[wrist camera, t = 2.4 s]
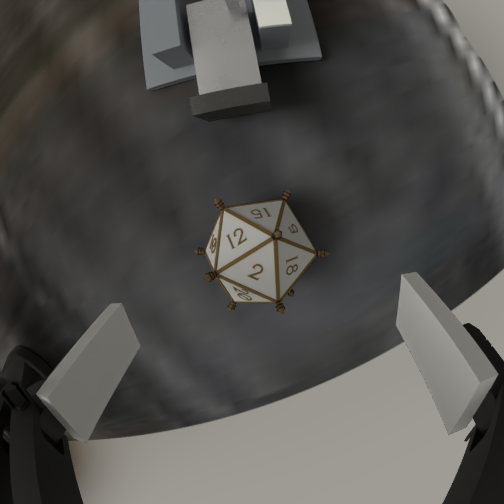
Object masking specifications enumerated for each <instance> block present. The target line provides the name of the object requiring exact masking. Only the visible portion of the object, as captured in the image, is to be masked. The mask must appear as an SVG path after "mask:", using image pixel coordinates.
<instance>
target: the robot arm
mask: <svg viewBox="0 0 504 504" xmlns="http://www.w3.org/2000/svg"><path fill="white" fill-rule="evenodd" d="M396 326H397V328H398V330H399V332H400V333H401V335H402V337H403V339H404V341H405V343H406V344H407V347H408V348H409V350H410V352H411V354H412V356H413V358H414V360H415V362H416V364H417V366H418V368H419V370H420V372H421V374H422V376H423V378H424V380H425V382H426V384H427V387H428V389H429V391H430V393H431V395H432V397H433V399H434V402H435V404H436V406H437V409H438V411H439V413H440V415H441V418H442V420H443V423H444V425H445V427H446V430H447V432H448V435H450V434H452V433H454V432H457V431H459V430H462V429H464V428H466V427H467V425H468V424H469V422H470V421H471V419H472V418H473V419H474V421H475V423H476V425H475V426H474V427H473V429H472V430H471V432H470V433H469V434H468V436H467V437H466V439H465V441H468V439H469V438H470V440H469V443H468V446H467V449H466V451H465V454H464V457H463V459H462V462H461V465H460V467H459V470H458V472H457V474H456V476H455V479H454V481H453V483H452V485H451V487H450V490H449V492H448V494H447V496H446V498H445V500H444V502H443V503H442V504H504V361H503V359H502V358H501V357H500V356H499V354H498V353H497V351H496V350H495V349H494V348H493V347H491V344H490V342H489V341H488V340H486V337H485V336H484V335H483V334H482V332H480V330H479V329H478V328H476V327H475V326H473V325H471V324H470V323H467V324H464V325H462V324H461V323H460V322H459V320H458V319H457V318H456V317H455V315H454V314H453V313H452V312H451V311H450V309H449V308H448V307H447V306H446V305H445V303H444V302H443V301H442V300H441V299H440V298H439V297H438V295H437V294H436V293H435V292H434V291H433V290H432V289H431V288H430V286H429V285H428V284H427V283H426V282H425V281H424V280H423V279H422V278H421V277H420V276H419V274H418V273H417V272H412V273H406V274H401V286H400V296H399V304H398V312H397V320H396ZM139 348H140V344H139V342H138V340H137V337H136V335H135V333H134V331H133V328H132V326H131V324H130V321H129V319H128V317H127V314H126V312H125V310H124V307H123V305H122V303H112V304H110V305H109V306H108V307H107V308H106V309H105V310H104V311H103V312H102V313H101V315H100V316H99V317H98V318H97V319H96V320H95V321H94V323H93V324H92V325H91V326H90V327H89V328H88V330H87V331H86V332H85V333H84V334H83V335H82V337H81V338H80V339H79V340H78V341H77V342H76V344H75V345H74V346H73V347H72V348H71V350H70V351H69V352H68V353H67V355H66V356H65V357H64V358H63V359H62V360H60V361H59V363H58V364H57V365H56V366H55V368H54V370H52V369H51V368H50V367H49V366H48V365H47V364H46V363H45V362H44V361H43V360H42V359H41V358H39V357H38V356H37V355H35V354H34V353H33V352H31V351H30V350H28V349H26V348H24V347H21V346H17V347H15V348H14V349H13V350H12V351H11V352H10V353H9V355H8V357H7V359H6V362H5V364H4V367H3V370H2V373H1V375H0V504H83V501H82V498H81V494H80V491H79V488H78V484H77V481H76V476H75V472H74V468H73V464H72V460H71V455H70V450H69V444H68V440H67V437H66V436H65V435H64V432H65V431H66V430H67V431H68V432H69V433H70V434H71V436H72V437H73V438H75V439H78V440H80V441H83V442H87V441H88V439H89V437H90V435H91V433H92V431H93V429H94V428H95V426H96V424H97V422H98V420H99V418H100V416H101V414H102V413H103V411H104V409H105V407H106V405H107V404H108V402H109V400H110V398H111V396H112V395H113V393H114V391H115V389H116V388H117V386H118V384H119V382H120V380H121V379H122V377H123V375H124V374H125V372H126V370H127V368H128V367H129V365H130V363H131V362H132V360H133V358H134V356H135V355H136V353H137V351H138V350H139Z"/></svg>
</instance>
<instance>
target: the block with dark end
mask: <svg viewBox="0 0 504 504" xmlns="http://www.w3.org/2000/svg"><path fill="white" fill-rule="evenodd" d="M186 8H187V16H188V23H189V30H190V37H191V44H192V51H193V57H194V64H195V70H196V77H197V83H198V89H199V95H197V96H193V97H190V102H191V109H192V115H193V116H195V117H198V118H201V119H203V120H206V121H208V122H211V121H215V120H220V119H225V118H231V117H236V116H242V115H248V114H254V113H261V112H268V111H270V96H269V91H268V85H267V82H266V83H262V82H261V77H260V72H259V67H258V61H257V56H256V51H255V46H254V41H253V36H252V32H251V27H250V22H249V18H248V13H247V8H246V4H245V0H203V1H199V2H195V3H192V4H188V5H186Z"/></svg>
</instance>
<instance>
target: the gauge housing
mask: <svg viewBox="0 0 504 504" xmlns="http://www.w3.org/2000/svg"><path fill="white" fill-rule="evenodd" d="M199 1H203V0H139V12H140V28H141V40H142V51H143V61H144V70H145V79H146V87H147V90H150V91H154V90H157V89H160V88H163V87H166V86H170V85H173V84H177V83H180V82H184V81H188V80H191V79H195V78H197V77H196V70H195V64H194V57H193V51H192V44H191V37H190V30H189V23H188V16H187V8H186V5H188V4H192V3H195V2H199ZM245 4H246V8H247V13H248V18H249V22H250V27H251V32H252V36H253V41H254V46H255V51H256V56H257V61H258V66H262V65H270V64H279V63H289V62H301V61H318V60H321V58H322V54H321V50H320V46H319V42H318V38H317V34H316V30H315V26H314V22H313V19H312V15H311V12H310V8H309V5H308V2H307V0H245Z"/></svg>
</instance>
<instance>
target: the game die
mask: <svg viewBox="0 0 504 504" xmlns="http://www.w3.org/2000/svg"><path fill="white" fill-rule="evenodd" d="M282 195H283V197H282V199H276V200H269V201H261V202H254V203H247V204H240V205H233V206H226V207H225V206H224V203H223V202H222V200H221V199H220V200H219V199H217V198H214V199H215V205H216V206H217V208H219V209H220V210H221V211H220V214H219V216H218V219H217V221H216V224H215V226H214V228H213V231H212V233H211V236H210V238H209V241H208V243H207V246H206V248H205V249H203V248H200V247H199V248H198V249H197V250H196V251H195V252H196V253H197V254H198V255H200V254H201V255H202V254H204V253H205V255H206V257H207V260H208V262H209V264H210V267H211V269H212V271H213V272H209V273H206V276H205V278H204V280H207V281H210V282H211V281H212V280H214V279H215V277H216V278H217V280H218V281H219V283H220V284H221V286H222V287H223V288H224V290H225V291H226V293H227V294H228V296H229V297H230V298H231V300H232V302H231V303H229V306H228V308H229V312H230V311H232V310H233V309H234V310H235V307H236V303H276V308H277V310H276V311H279V312H280V313H282V314H284V309H285V307H284V305H283V303H281V301H282V300H283V298H284V297H285V296H286V295H287V293H288V295H289V296H294V291H293V289H291V288H292V287H293V286H294V285H295V283H296V282H297V281H298V280H299V278H300V277H301V276H302V275H303V273H304V272H305V271H306V269H307V268H308V267H309V266H310V264H311V263H312V262H313V260H314V259H315V258H316V256H319V257H324V258H325V257H326V256H327V255H329V254H330V253H328V252H327V251H325V250H321V251H317V250H316V249H315V247H314V245H313V244H312V242H311V240H310V239H309V237H308V235H307V234H306V232H305V230H304V229H303V227H302V226H301V224H300V222H299V221H298V219H297V217H296V216H295V214H294V213H293V211H292V209H291V208H290V206H289V205H288V203H287V202H286V201H287V199H288V198H289V196H290V195H291V194H290V188H289V189H288V190H286V191H284V194H282Z"/></svg>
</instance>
